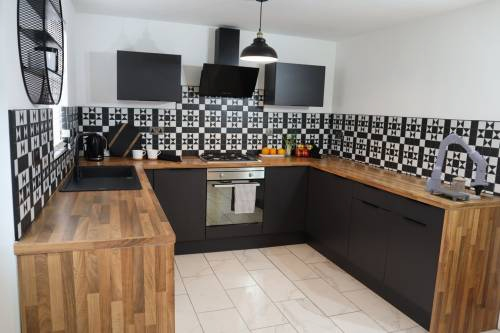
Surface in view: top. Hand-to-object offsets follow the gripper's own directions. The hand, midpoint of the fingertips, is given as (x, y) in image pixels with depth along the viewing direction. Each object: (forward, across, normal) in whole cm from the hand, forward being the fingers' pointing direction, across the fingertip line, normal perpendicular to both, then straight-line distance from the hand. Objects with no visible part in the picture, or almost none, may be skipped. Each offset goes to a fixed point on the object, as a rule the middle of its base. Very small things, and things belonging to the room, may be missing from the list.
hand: (477, 195), depth 273 cm
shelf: (+1, -25, 0) cm, 25 cm away
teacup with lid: (+1, 0, +19) cm, 19 cm away
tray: (+1, -11, 0) cm, 11 cm away
